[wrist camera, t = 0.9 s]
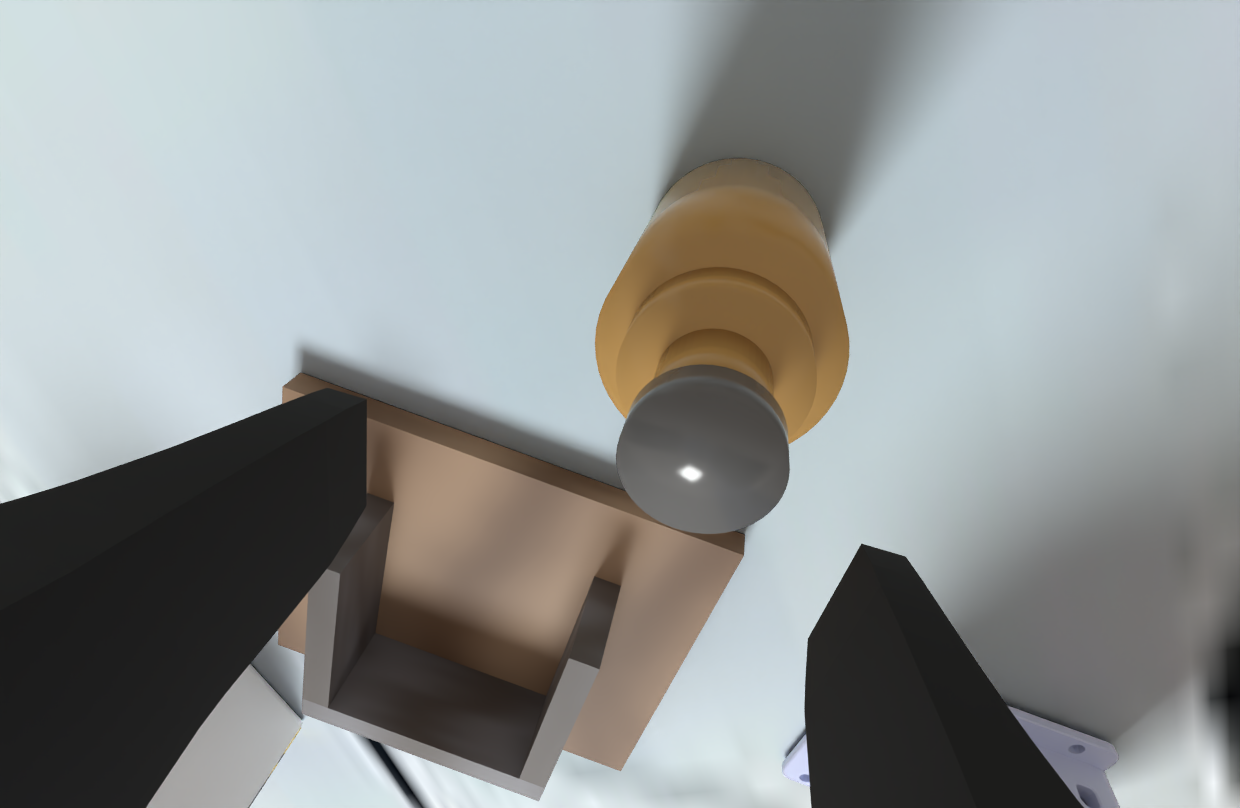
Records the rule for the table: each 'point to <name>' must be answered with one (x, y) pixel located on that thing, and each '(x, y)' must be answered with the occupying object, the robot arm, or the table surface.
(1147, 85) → the table surface
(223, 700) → the medicine bottle
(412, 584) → the bottle rest
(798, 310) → the amber bottle
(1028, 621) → the table surface
